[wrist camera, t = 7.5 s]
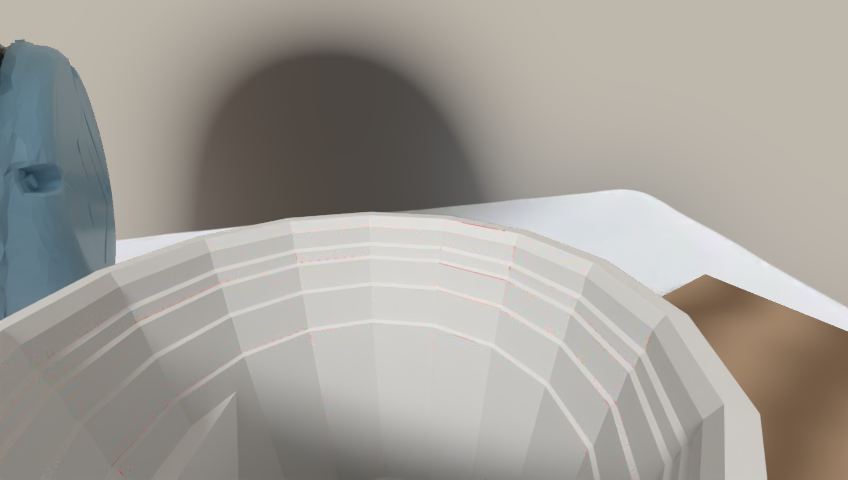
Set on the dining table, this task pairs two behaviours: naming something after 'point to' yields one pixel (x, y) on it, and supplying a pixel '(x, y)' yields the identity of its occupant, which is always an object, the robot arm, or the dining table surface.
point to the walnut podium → (779, 374)
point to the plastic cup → (372, 361)
